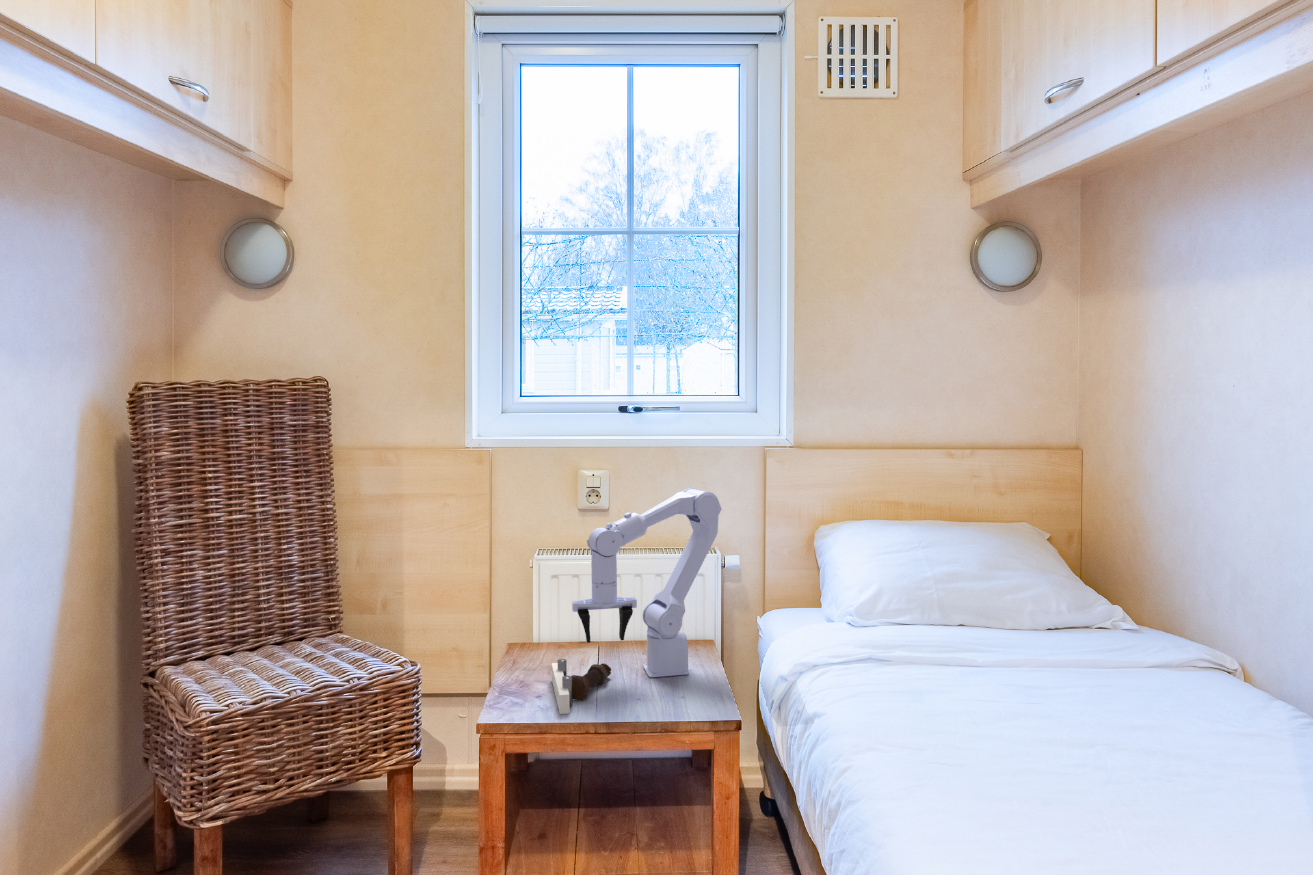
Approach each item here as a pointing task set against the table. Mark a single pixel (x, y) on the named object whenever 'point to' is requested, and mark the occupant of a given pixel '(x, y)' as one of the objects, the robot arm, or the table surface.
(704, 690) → the table surface
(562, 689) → the bar
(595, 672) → the bolt
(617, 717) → the table surface
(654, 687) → the table surface
